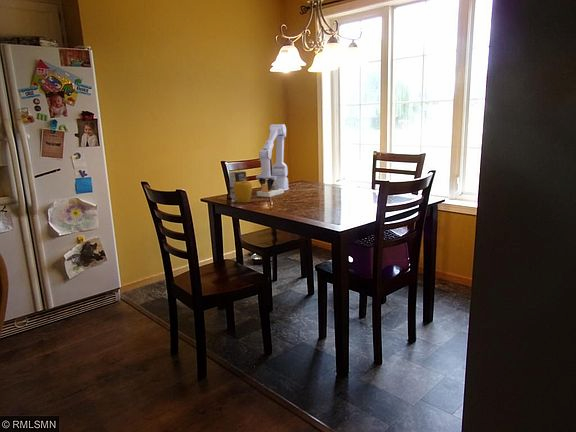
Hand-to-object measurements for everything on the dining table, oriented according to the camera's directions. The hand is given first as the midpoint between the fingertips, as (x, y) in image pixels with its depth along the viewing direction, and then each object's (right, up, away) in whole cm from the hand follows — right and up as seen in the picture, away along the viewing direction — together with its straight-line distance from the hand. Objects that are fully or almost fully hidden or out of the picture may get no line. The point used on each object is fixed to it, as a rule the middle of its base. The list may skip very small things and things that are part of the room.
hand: (266, 190), depth 272 cm
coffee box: (-18, -5, 0) cm, 18 cm away
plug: (0, -1, 0) cm, 1 cm away
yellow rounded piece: (-13, -8, -15) cm, 21 cm away
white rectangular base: (+2, -3, +4) cm, 5 cm away
